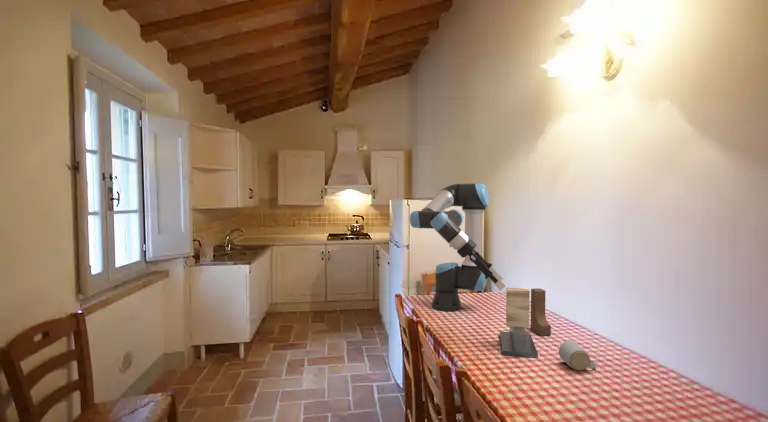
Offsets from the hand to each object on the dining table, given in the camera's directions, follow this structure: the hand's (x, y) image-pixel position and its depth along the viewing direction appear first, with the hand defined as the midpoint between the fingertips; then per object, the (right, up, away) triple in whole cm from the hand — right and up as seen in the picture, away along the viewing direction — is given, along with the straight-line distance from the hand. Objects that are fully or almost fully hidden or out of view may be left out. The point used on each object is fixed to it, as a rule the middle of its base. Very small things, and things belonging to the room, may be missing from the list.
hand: (501, 284), depth 153 cm
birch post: (+6, -16, -1) cm, 17 cm away
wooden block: (+21, -24, +14) cm, 34 cm away
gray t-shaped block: (+6, -24, 0) cm, 24 cm away
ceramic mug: (+20, -25, -19) cm, 37 cm away
